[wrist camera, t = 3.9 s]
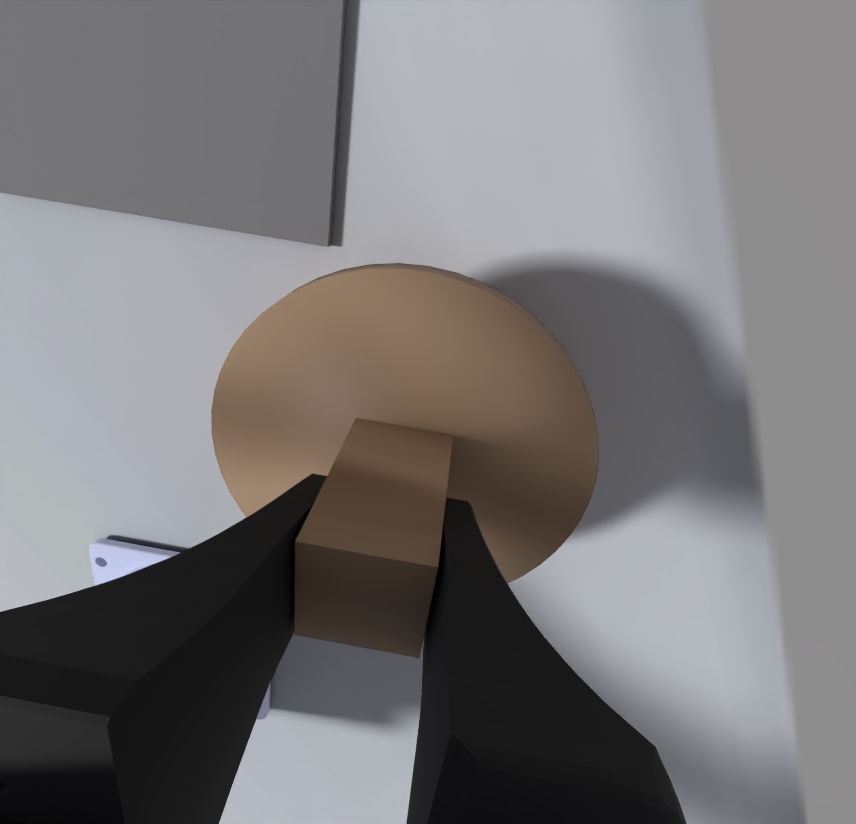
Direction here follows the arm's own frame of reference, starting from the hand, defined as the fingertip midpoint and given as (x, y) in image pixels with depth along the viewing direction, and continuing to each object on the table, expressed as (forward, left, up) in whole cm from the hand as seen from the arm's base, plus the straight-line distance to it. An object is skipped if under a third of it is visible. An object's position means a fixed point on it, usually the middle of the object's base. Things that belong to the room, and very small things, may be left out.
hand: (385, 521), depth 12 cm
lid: (+1, 0, -3) cm, 3 cm away
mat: (+11, +9, -6) cm, 16 cm away
